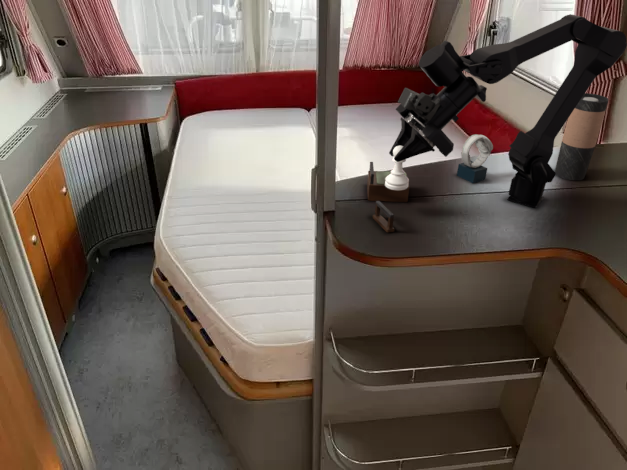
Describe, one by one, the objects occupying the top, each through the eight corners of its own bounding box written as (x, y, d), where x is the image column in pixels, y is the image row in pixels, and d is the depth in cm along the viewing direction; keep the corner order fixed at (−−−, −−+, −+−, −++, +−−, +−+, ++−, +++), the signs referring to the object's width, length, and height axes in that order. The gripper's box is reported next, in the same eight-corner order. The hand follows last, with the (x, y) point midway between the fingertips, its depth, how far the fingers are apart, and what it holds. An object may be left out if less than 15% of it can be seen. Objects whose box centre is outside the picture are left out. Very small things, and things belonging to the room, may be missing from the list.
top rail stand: (404, 187, 127) (407, 162, 124) (407, 202, 120) (410, 176, 117) (367, 185, 128) (368, 160, 124) (367, 200, 121) (369, 174, 117)
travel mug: (588, 182, 132) (613, 103, 122) (556, 179, 133) (578, 100, 123) (581, 170, 138) (604, 94, 128) (551, 167, 140) (571, 91, 129)
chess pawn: (413, 186, 113) (417, 146, 109) (398, 193, 110) (402, 152, 106) (394, 179, 116) (398, 140, 112) (379, 185, 113) (383, 145, 109)
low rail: (372, 217, 114) (374, 201, 112) (379, 216, 114) (380, 200, 112) (387, 232, 108) (388, 215, 106) (394, 231, 109) (396, 214, 107)
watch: (490, 178, 133) (499, 136, 127) (467, 184, 129) (475, 142, 124) (474, 170, 137) (481, 129, 131) (451, 176, 133) (458, 134, 128)
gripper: (408, 63, 110) (355, 118, 114) (446, 87, 94) (383, 149, 98) (439, 99, 116) (387, 150, 119) (480, 126, 100) (418, 185, 103)
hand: (392, 157), depth 110 cm, fingers closed on chess pawn, 3 cm apart
